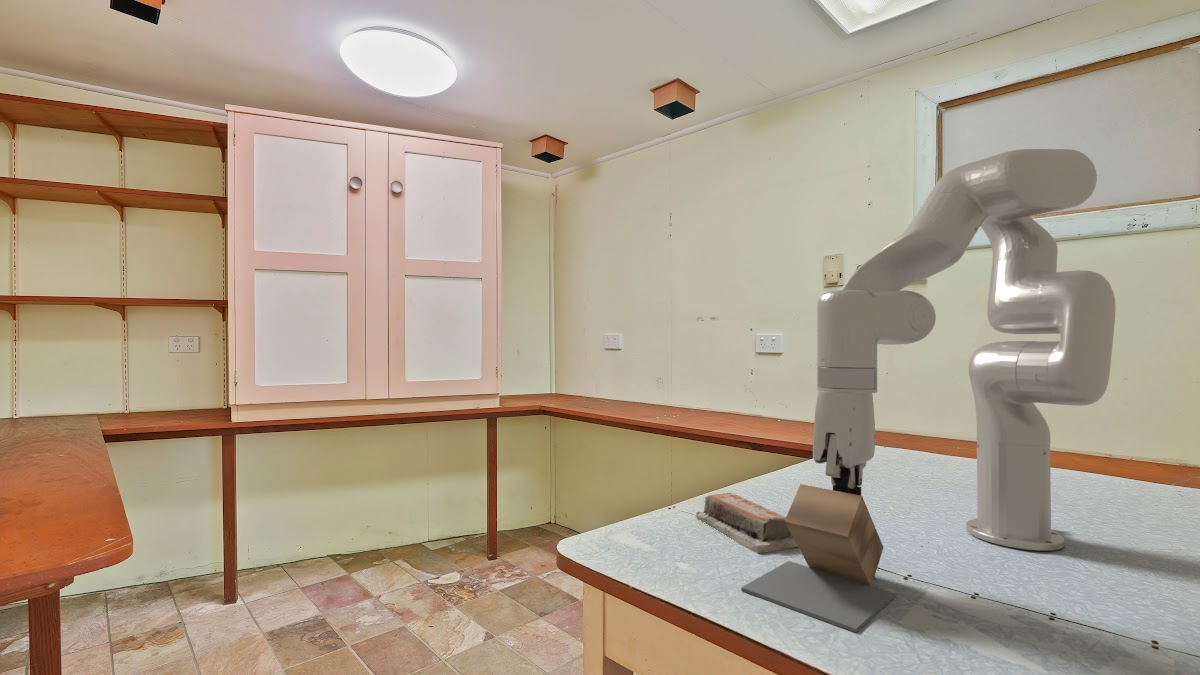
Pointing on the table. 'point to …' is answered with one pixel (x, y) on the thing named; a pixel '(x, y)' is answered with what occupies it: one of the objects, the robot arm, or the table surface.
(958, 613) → the table surface
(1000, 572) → the table surface
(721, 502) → the packaged product
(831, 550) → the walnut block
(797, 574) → the mat
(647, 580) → the table surface
